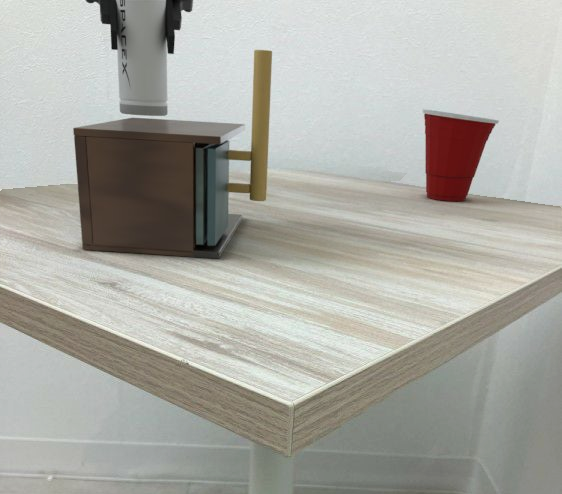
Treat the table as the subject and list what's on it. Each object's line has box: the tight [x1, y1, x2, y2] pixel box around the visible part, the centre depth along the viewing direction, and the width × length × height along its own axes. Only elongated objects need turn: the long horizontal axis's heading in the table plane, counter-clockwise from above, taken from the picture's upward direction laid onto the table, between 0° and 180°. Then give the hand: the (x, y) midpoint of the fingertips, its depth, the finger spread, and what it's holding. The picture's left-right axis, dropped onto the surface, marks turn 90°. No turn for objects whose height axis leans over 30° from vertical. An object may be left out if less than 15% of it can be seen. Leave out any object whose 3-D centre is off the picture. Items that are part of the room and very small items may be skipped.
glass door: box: [207, 49, 273, 246], centre depth 58 cm, size 4×8×16 cm, turn 176°
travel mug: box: [116, 0, 168, 117], centre depth 82 cm, size 6×7×20 cm
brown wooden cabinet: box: [72, 117, 246, 260], centre depth 63 cm, size 12×18×10 cm
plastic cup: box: [422, 108, 500, 202], centre depth 94 cm, size 11×11×12 cm
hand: (143, 42), depth 80 cm, fingers closed on travel mug, 6 cm apart
